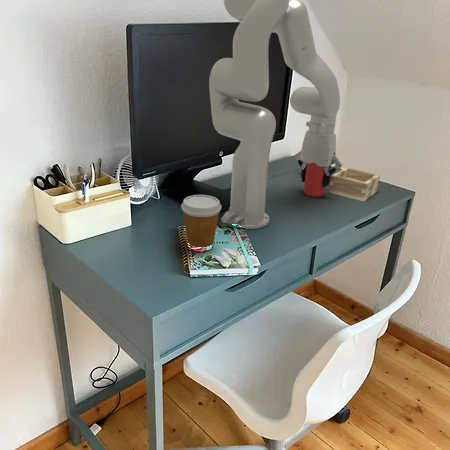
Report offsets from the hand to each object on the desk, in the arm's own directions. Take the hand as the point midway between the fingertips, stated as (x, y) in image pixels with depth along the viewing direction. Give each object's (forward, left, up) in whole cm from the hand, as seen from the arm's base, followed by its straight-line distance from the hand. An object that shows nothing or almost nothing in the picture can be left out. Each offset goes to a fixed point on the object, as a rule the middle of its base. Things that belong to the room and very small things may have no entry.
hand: (314, 183), depth 158 cm
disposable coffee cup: (-53, +5, -4) cm, 53 cm away
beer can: (0, 0, -4) cm, 4 cm away
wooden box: (+11, -9, -4) cm, 15 cm away
